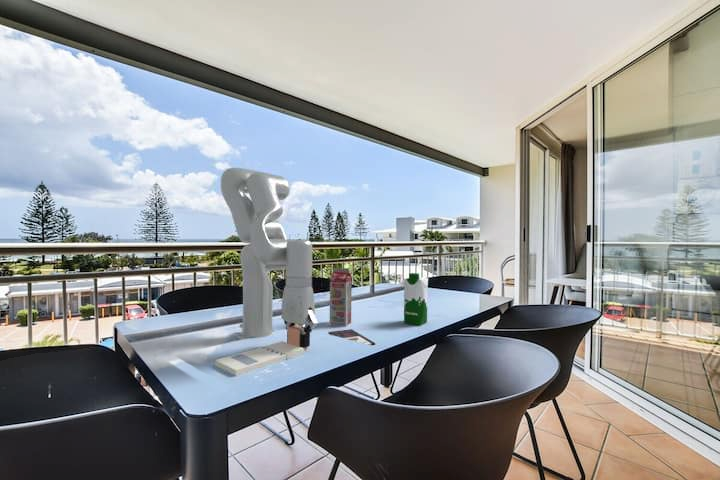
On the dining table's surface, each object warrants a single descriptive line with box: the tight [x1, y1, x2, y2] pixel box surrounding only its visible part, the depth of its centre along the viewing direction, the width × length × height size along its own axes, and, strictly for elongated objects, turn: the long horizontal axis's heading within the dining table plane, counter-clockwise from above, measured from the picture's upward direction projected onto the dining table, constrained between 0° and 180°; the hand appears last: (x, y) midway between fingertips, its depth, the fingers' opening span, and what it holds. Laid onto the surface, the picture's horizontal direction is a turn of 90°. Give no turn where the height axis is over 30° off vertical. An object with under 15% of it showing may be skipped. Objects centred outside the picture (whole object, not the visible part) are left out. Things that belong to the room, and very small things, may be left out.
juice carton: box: [328, 267, 353, 328], centre depth 130 cm, size 7×7×22 cm
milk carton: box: [403, 272, 429, 327], centre depth 134 cm, size 9×9×20 cm
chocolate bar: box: [327, 328, 376, 346], centre depth 111 cm, size 9×1×18 cm
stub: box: [264, 324, 308, 360], centre depth 93 cm, size 10×9×6 cm
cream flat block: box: [214, 346, 287, 377], centre depth 84 cm, size 10×14×2 cm
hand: (298, 344), depth 96 cm, fingers closed on stub, 5 cm apart
